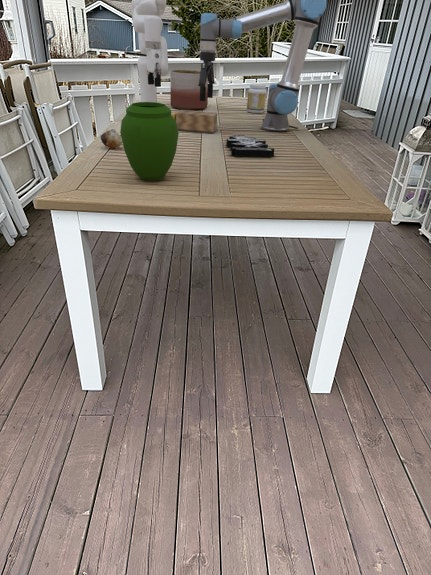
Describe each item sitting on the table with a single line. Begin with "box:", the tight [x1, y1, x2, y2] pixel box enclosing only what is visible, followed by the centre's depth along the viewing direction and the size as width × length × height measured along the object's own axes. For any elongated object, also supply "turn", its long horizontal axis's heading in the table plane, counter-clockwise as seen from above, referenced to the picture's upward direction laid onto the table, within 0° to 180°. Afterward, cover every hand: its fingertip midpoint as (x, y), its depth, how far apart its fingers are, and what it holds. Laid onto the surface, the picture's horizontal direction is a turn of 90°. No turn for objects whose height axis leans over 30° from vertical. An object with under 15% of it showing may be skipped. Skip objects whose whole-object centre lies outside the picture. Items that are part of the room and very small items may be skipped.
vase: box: [119, 101, 179, 182], centre depth 140 cm, size 20×20×24 cm
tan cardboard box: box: [175, 109, 218, 135], centre depth 218 cm, size 20×11×9 cm, turn 80°
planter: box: [170, 69, 209, 111], centre depth 276 cm, size 25×25×22 cm
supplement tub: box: [246, 83, 267, 114], centre depth 274 cm, size 12×12×17 cm
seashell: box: [100, 128, 123, 149], centre depth 178 cm, size 10×6×8 cm, turn 91°
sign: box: [225, 134, 275, 158], centre depth 189 cm, size 19×3×30 cm
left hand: (154, 85), depth 206 cm, fingers open, 9 cm apart
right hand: (206, 99), depth 209 cm, fingers open, 13 cm apart
